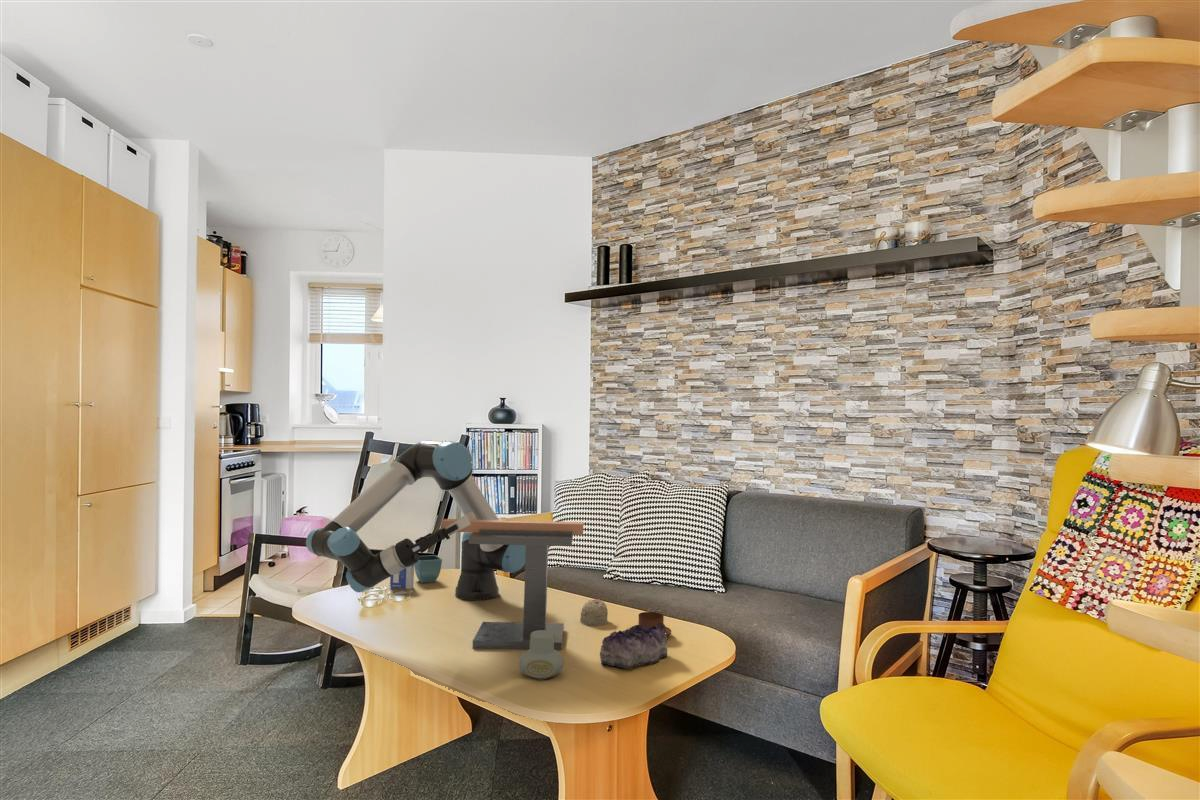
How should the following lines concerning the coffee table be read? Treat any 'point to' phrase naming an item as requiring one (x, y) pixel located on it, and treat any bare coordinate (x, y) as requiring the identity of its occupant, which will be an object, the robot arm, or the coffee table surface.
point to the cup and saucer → (653, 620)
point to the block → (518, 525)
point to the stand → (534, 590)
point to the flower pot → (428, 568)
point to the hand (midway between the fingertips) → (471, 517)
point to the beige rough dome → (594, 613)
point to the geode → (634, 646)
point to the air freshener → (541, 656)
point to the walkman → (403, 578)
